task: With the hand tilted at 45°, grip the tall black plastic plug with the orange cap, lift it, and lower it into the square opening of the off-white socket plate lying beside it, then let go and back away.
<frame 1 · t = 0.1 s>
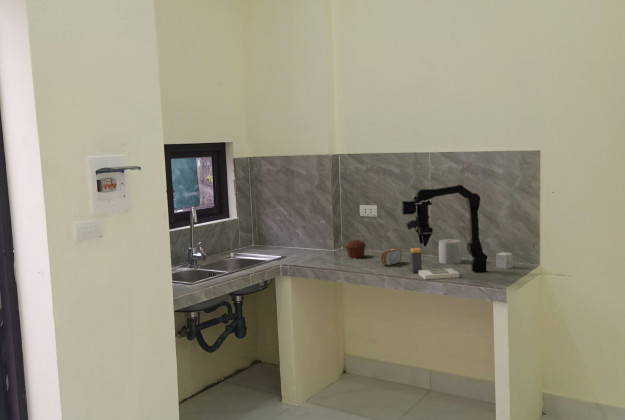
hand: (423, 245, 317), 15 cm above the worktop, tool pointing down, fingers open, 9 cm apart
product box: (504, 268, 326), on the worktop
socket plate: (438, 275, 313), on the worktop
toilet paper roll: (450, 262, 347), on the worktop
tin: (391, 264, 346), on the worktop
muffin: (356, 257, 372), on the worktop
plug: (416, 272, 323), on the worktop
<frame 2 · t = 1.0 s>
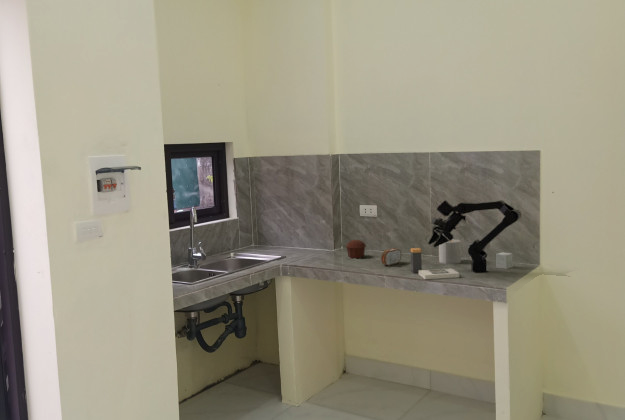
hand: (431, 245, 323), 13 cm above the worktop, tool tilted 45°, fingers open, 9 cm apart
nothing on the worktop moved.
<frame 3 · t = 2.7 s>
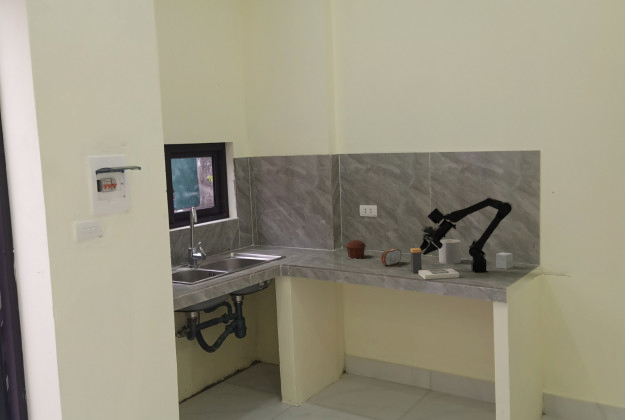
hand: (421, 252, 323), 10 cm above the worktop, tool tilted 45°, fingers open, 9 cm apart
nothing on the worktop moved.
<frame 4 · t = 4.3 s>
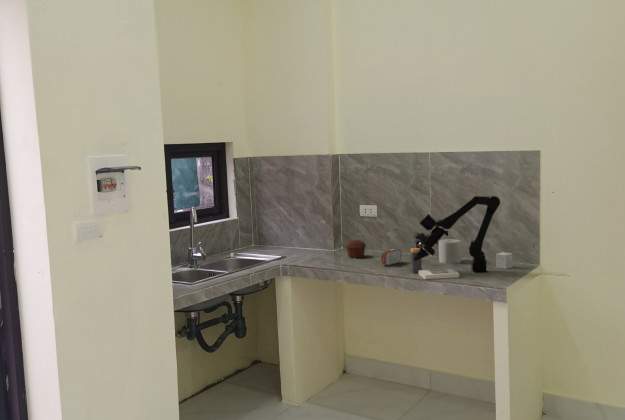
hand: (413, 259, 323), 7 cm above the worktop, tool tilted 45°, fingers closed on plug, 4 cm apart
plug: (416, 272, 323), on the worktop, touching gripper
everything else where it was.
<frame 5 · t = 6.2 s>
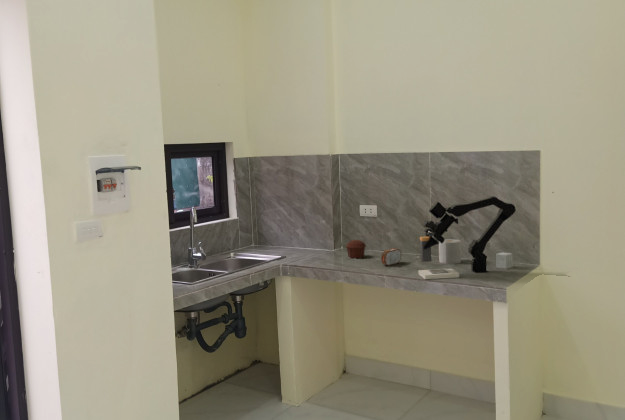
hand: (422, 248, 318), 13 cm above the worktop, tool tilted 45°, fingers closed on plug, 4 cm apart
plug: (426, 260, 318), point 6 cm above the worktop, touching gripper
everything else where it was.
when the fingers open (8 cm above the worktop, at t = 8.4 s): plug drops 1 cm, resting in socket plate.
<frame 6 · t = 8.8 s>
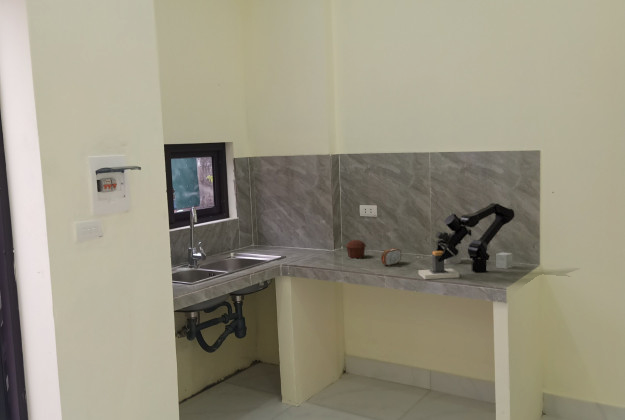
hand: (435, 259, 312), 8 cm above the worktop, tool tilted 45°, fingers open, 8 cm apart
plug: (438, 275, 313), resting in socket plate
everything else where it was.
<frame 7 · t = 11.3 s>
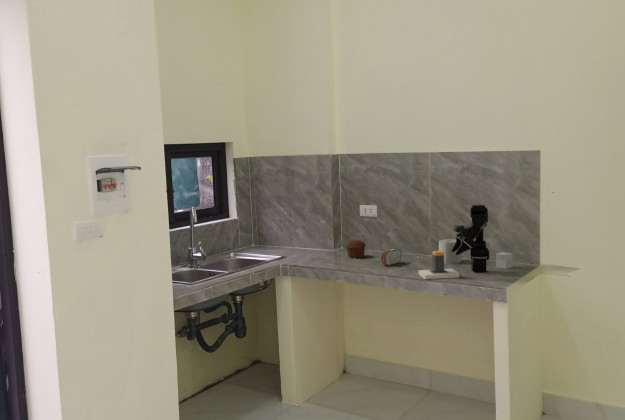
hand: (454, 253, 313), 11 cm above the worktop, tool tilted 40°, fingers open, 9 cm apart
nothing on the worktop moved.
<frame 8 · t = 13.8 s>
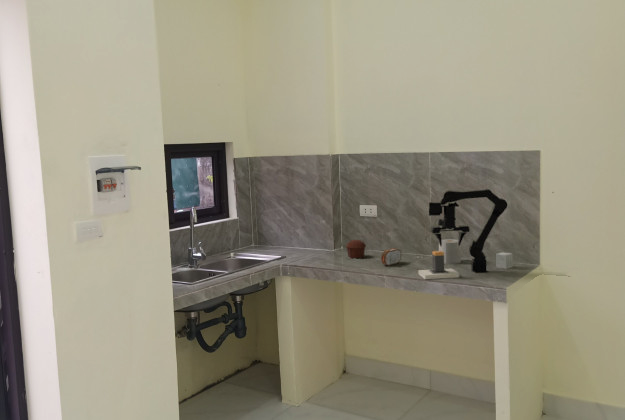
hand: (449, 246, 320), 13 cm above the worktop, tool pointing down, fingers open, 9 cm apart
nothing on the worktop moved.
at the end: plug 0.1 cm off-centre on the socket plate, point 0.0 cm above the socket plate's base; plug tilted 0°; the gripper is holding nothing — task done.
